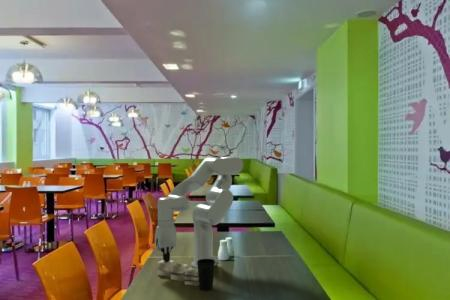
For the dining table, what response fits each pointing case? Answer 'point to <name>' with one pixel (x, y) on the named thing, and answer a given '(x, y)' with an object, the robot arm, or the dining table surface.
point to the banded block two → (191, 277)
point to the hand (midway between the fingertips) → (166, 260)
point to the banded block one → (178, 271)
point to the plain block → (164, 267)
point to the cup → (206, 274)
